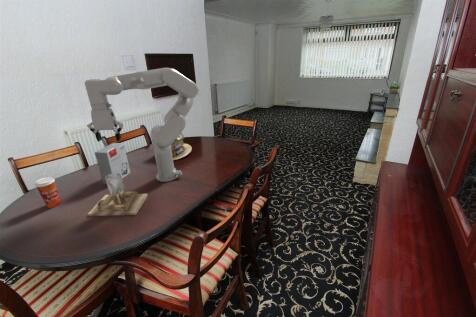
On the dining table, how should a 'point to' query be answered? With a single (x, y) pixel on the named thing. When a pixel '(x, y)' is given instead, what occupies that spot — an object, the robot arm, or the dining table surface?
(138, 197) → the pocket board
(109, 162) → the hard drive box
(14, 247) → the dining table surface
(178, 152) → the gold white round stack
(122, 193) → the beer glass
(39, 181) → the paper cup
